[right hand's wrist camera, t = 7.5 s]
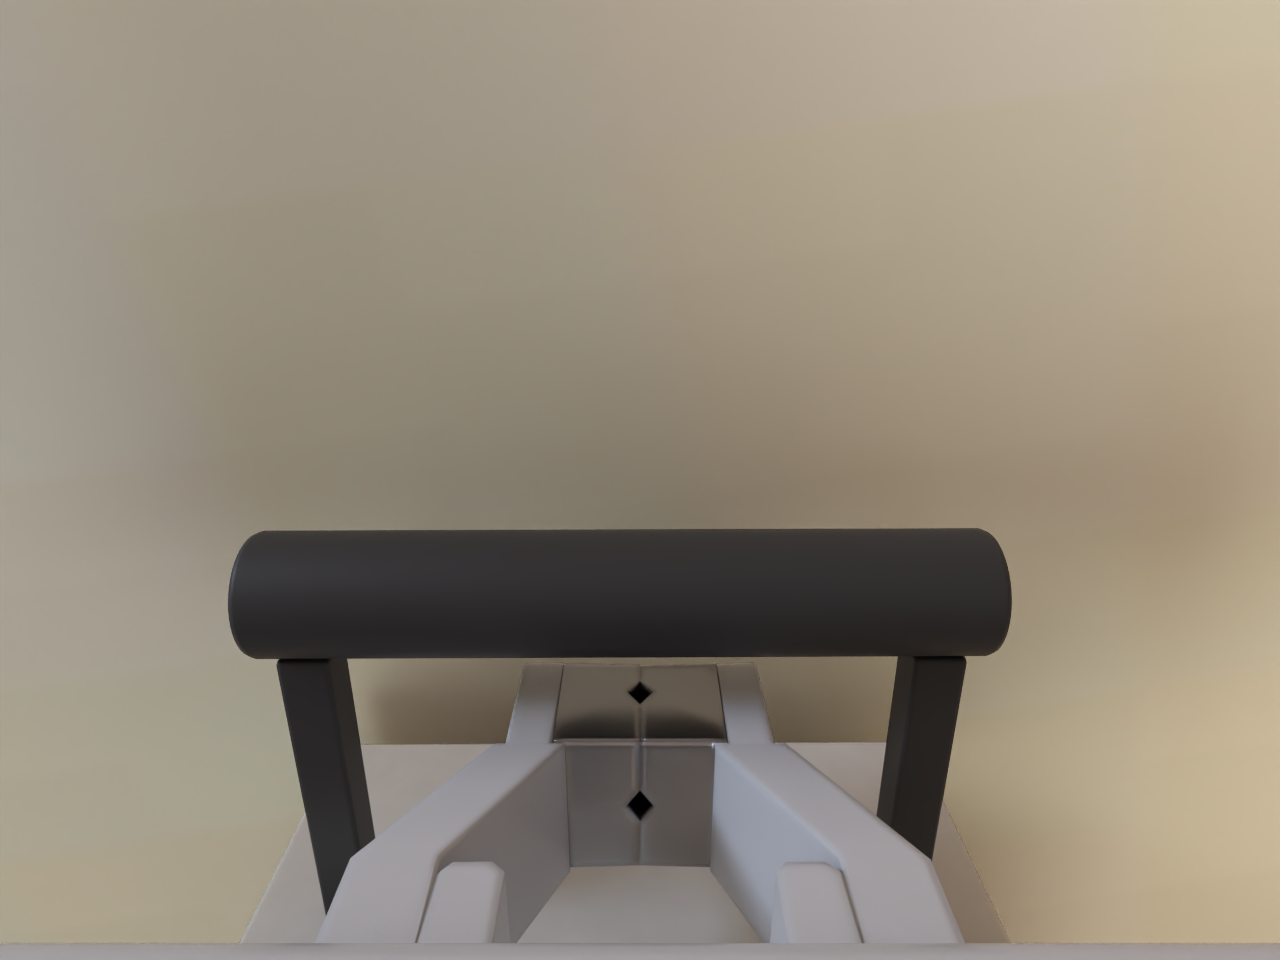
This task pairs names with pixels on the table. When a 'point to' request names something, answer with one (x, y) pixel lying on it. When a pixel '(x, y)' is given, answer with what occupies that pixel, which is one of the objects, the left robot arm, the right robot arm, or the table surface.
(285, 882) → the drawer
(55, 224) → the table surface
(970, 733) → the table surface
